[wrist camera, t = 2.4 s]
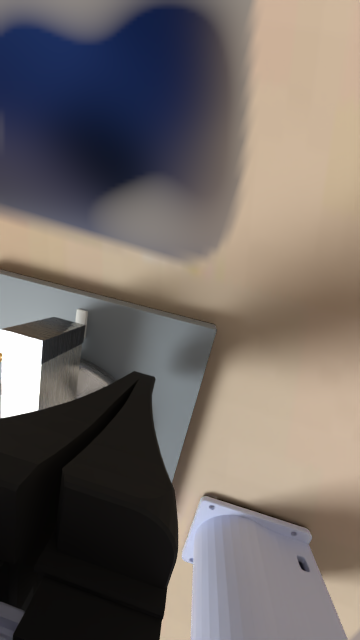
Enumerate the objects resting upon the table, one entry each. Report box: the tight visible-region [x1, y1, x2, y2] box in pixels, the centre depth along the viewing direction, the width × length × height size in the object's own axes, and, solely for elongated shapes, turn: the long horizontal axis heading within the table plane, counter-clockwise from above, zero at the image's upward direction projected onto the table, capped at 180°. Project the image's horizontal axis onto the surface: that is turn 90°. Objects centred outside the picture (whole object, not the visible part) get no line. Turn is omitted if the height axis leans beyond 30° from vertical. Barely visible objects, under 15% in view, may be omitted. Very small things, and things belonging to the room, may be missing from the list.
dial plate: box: [0, 269, 217, 483], centre depth 15 cm, size 18×20×2 cm
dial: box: [0, 317, 116, 418], centre depth 12 cm, size 11×14×4 cm
